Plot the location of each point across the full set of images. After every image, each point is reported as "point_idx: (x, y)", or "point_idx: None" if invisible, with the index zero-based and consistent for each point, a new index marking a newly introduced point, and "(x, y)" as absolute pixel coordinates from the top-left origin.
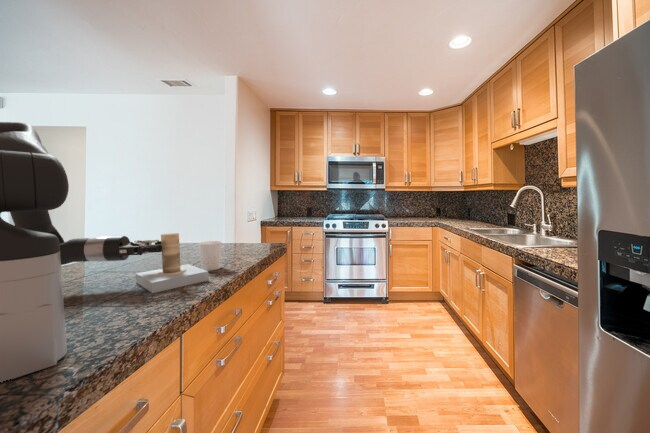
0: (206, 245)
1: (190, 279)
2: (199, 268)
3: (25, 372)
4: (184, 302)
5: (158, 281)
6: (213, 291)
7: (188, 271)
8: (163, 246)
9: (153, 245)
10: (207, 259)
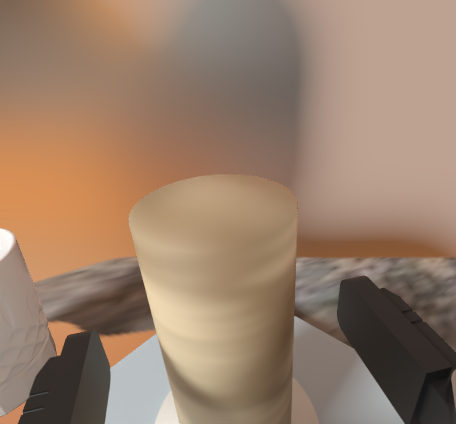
0: (8, 262)
1: None
2: None
3: None
4: (451, 280)
5: None
6: (341, 258)
7: None
8: (292, 309)
9: (406, 318)
10: (35, 327)
